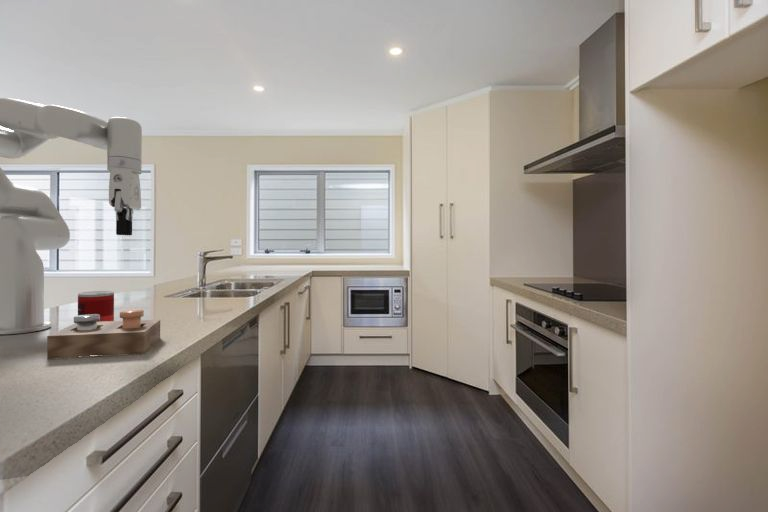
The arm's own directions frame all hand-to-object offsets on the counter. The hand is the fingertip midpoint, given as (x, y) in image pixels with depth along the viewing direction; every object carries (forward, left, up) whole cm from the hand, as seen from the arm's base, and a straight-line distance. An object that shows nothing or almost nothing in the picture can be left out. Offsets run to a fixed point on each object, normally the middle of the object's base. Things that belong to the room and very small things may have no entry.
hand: (124, 235), depth 100 cm
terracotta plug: (+6, -13, -26) cm, 29 cm away
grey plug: (-3, -13, -26) cm, 30 cm away
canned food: (-8, +5, -27) cm, 29 cm away
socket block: (+1, -13, -27) cm, 30 cm away
